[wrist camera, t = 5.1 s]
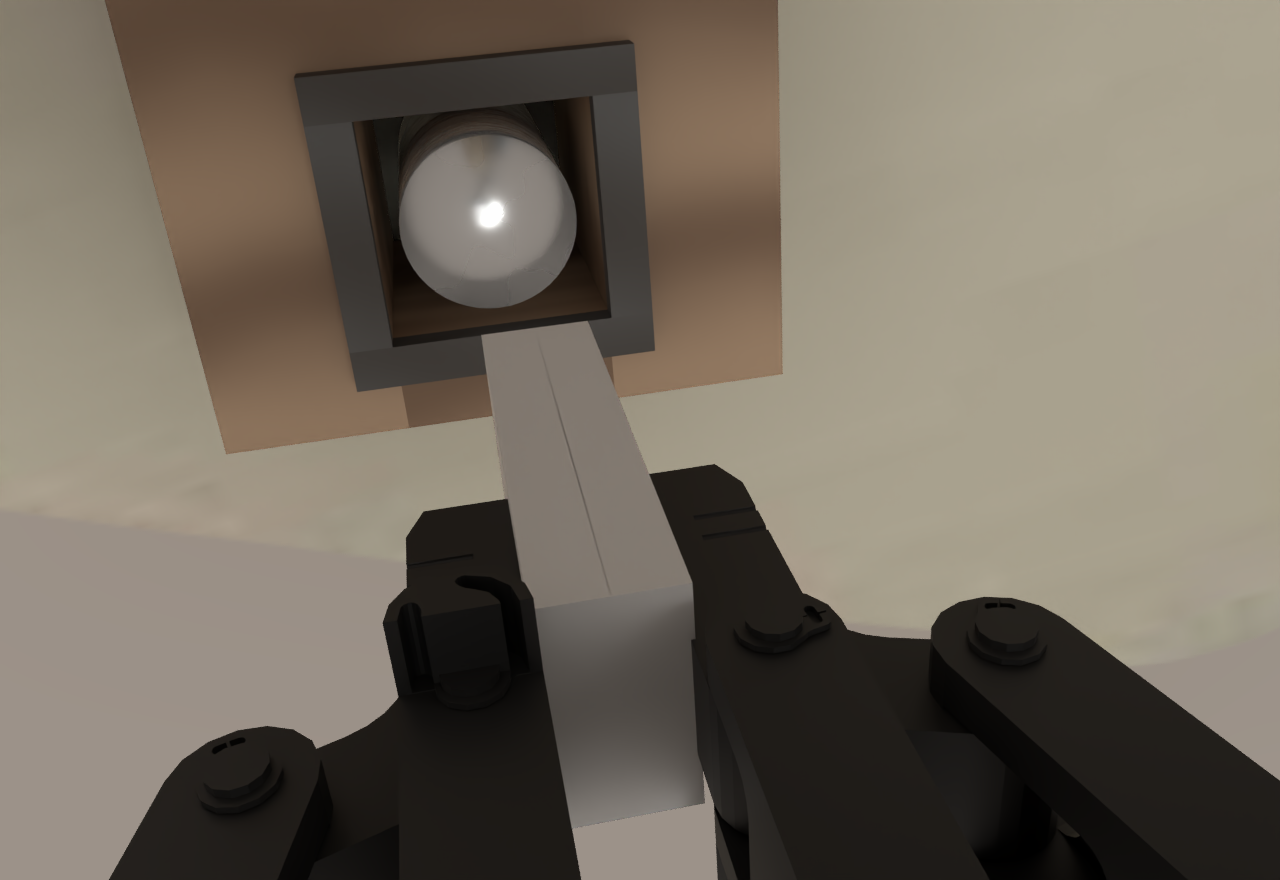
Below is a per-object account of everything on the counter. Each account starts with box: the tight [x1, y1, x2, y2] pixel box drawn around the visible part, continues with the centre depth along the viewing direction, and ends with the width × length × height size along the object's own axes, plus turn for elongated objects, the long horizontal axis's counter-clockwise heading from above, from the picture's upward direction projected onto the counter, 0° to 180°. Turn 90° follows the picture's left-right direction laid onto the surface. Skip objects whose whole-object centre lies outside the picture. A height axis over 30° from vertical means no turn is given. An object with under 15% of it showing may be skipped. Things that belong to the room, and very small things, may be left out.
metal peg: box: [398, 103, 577, 308], centre depth 29 cm, size 4×4×8 cm
